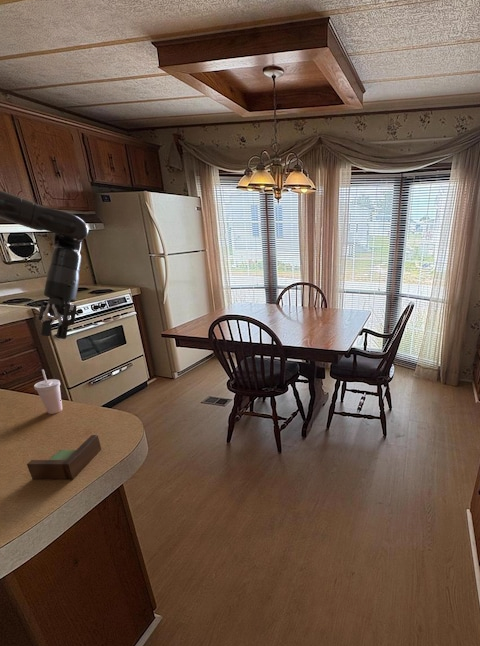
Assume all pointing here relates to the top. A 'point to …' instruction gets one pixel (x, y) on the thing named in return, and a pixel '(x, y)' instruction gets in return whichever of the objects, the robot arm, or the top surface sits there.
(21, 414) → the top surface
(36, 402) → the top surface
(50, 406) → the smoothie
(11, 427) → the top surface
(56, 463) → the corner guide
